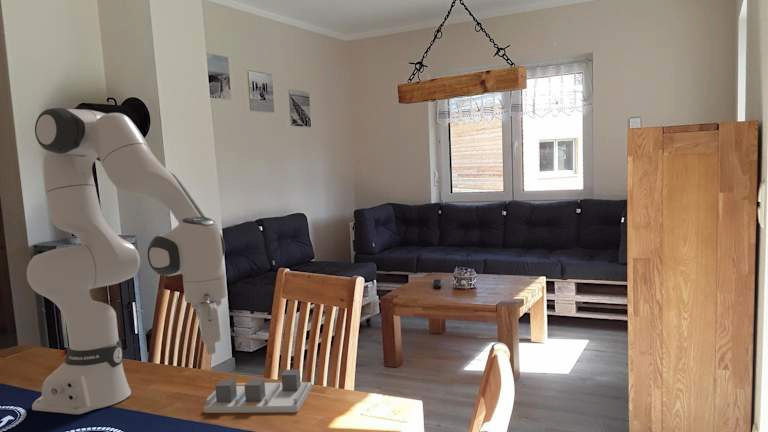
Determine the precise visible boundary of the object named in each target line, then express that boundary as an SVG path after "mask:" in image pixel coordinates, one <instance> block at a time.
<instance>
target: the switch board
mask: <svg viewBox="0 0 768 432" xmlns="http://www.w3.org/2000/svg"><path fill="white" fill-rule="evenodd" d="M246 383H247V382H236V390H237V397H236V398H235V399H234V400H233V401H232V402H217V400H216V389H215V390H214V391H213V392H212V393H211V394H210V395H209V396H208V397H207V398H206V399H205V405H204V406H203V413H204V414H208V413H209V414H212V413H213V414H214V413H215V414H217V413H218V414H222V413H224V414H225V413H227V414H229V413H231V414H233V413H234V414H236V413H237V414H239V413H240V414H241V413H246V414H248V413H250V414H252V413H257V414H258V413H260V414H261V413H262V414H263V413H299V411H300V410H301V407H302V406H303V404H304V402H305V401H306V399H307V397H308V396H309V394H310V392H311V391H312V389H313V385H312V381H311V382H310V381H309V382H307V381H304V382H303V381H302V382H301V386H300V387H299V389H298V391H283V390H282V382H265V395H266V396H265V397H264V398H263V400H262V401H261V402H246V399H245V387H244V385H245V384H246Z"/></svg>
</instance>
